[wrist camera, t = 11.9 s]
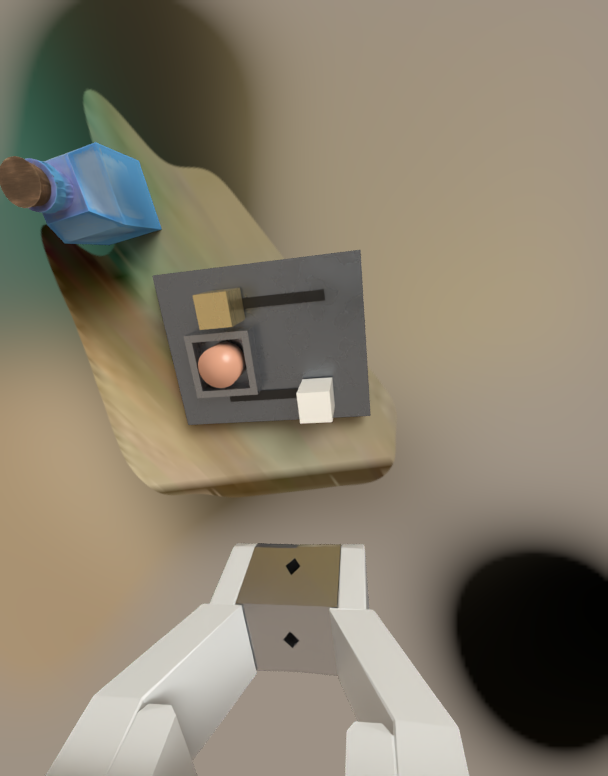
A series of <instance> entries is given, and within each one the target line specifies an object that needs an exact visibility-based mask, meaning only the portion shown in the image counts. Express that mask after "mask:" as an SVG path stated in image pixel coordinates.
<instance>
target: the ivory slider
mask: <svg viewBox="0 0 608 776" xmlns="http://www.w3.org/2000/svg"><path fill="white" fill-rule="evenodd" d="M296 395H297V402H298V410H299V418H300V424H302V423H323V422H333V415H334V408H335V402H334V391H333V381H332V377H330V378H315V379H302V382H301V384H300V386H299V388H298V391H297V393H296Z"/></svg>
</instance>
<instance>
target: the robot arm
mask: <svg viewBox="0 0 608 776" xmlns="http://www.w3.org/2000/svg"><path fill="white" fill-rule="evenodd" d="M256 670H259V671H290V672H305V673H315V674H324V675H334V676H338V679H339V681H340V683H341V686H342V688H343V690H344V692H345V694H346V697H347V699H348V701H349V703H350V706H351V708H352V710H353V712H354V715H355V717H356V719H357V721H358V722H354V723H353V724H352V726H351V727H350V728H349V729H348V730H347V741H346V773H345V776H469V773H468V768H467V764H466V759H465V754H464V750H463V745H462V741H461V736H460V731H459V728H458V726H457V725H456V724H455V722H454V721H453V719H452V718H451V717H450V715H449V714H448V712H447V711H446V710H445V708H444V707H443V705H442V704H441V703H440V701H439V700H438V699H437V697H436V696H435V694H434V693H433V692H432V690H431V689H430V687H429V686H428V685H427V683H426V682H425V681H424V679H423V678H422V676H421V675H420V673H419V672H418V671H417V669H416V668H415V667H414V665H413V664H412V662H411V661H410V660H409V658H408V657H407V655H406V654H405V653H404V651H403V650H402V649H401V647H400V646H399V644H398V643H397V642H396V640H395V639H394V637H393V636H392V635H391V633H390V632H389V630H388V629H387V628H386V626H385V625H384V624H383V622H382V621H381V619H380V618H379V616H378V615H377V614H376V612H375V611H374V610H369V597H368V583H367V570H366V556H365V547H364V544H342V545H341V544H336V545H335V544H334V545H333V544H330V545H329V544H326V545H325V544H323V545H321V544H319V545H318V544H317V545H314V544H312V545H311V544H305V545H293V544H264V543H263V544H262V543H258V544H247V543H237V544H236V545H235V546H234V547H233V549H232V551H231V554H230V556H229V558H228V561H227V563H226V565H225V568H224V570H223V572H222V575H221V577H220V579H219V582H218V584H217V586H216V589H215V591H214V594H213V596H212V598H211V600H210V603H209V604H202V605H200V606H199V607H198V608H197V609H196V610H195V611H193V612H192V613H191V614H190V615H189V616H187V617H186V618H185V619H184V620H183V621H181V622H180V623H179V624H178V625H177V626H176V627H174V628H173V629H172V630H171V631H170V632H168V633H167V634H166V635H165V636H164V637H163V638H161V639H160V640H159V641H158V642H157V643H156V644H154V645H153V646H152V647H151V648H149V649H148V650H147V651H146V652H145V653H144V654H142V655H141V656H140V657H139V658H138V659H136V660H135V661H134V662H133V663H132V664H130V665H129V666H128V667H127V668H126V669H125V670H124V671H122V672H121V673H120V674H119V675H118V676H116V677H115V678H114V679H113V680H112V681H111V682H109V683H108V684H107V685H106V686H105V687H103V688H102V689H101V690H100V691H99V692H97V693H96V694H95V695H94V696H93V698H92V699H91V701H90V703H89V704H88V706H87V708H86V709H85V711H84V713H83V714H82V716H81V718H80V719H79V721H78V722H77V724H76V726H75V728H74V729H73V731H72V733H71V734H70V736H69V737H68V739H67V741H66V743H65V744H64V746H63V747H62V749H61V751H60V753H59V754H58V756H57V757H56V759H55V761H54V762H53V764H52V766H51V767H50V769H49V771H48V773H47V774H46V776H197V773H196V771H195V768H194V765H193V762H192V761H193V760H194V758H195V757H196V755H197V754H198V753H199V752H200V750H201V749H202V748H203V746H204V745H205V743H206V742H207V741H208V739H209V738H210V736H211V735H212V734H213V733H214V731H215V730H216V728H217V727H218V726H219V724H220V723H221V722H222V720H223V719H224V718H225V716H226V715H227V713H228V712H229V711H230V709H231V708H232V707H233V705H234V704H235V702H236V701H237V700H238V698H239V697H240V696H241V694H242V693H243V691H244V690H245V689H246V687H247V686H248V685H249V683H250V682H251V681H252V679H253V678H254V677H255V675H256V674H257V672H256Z"/></svg>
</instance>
